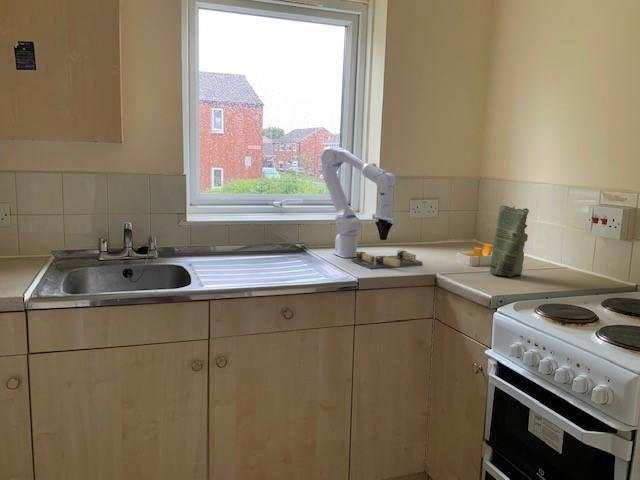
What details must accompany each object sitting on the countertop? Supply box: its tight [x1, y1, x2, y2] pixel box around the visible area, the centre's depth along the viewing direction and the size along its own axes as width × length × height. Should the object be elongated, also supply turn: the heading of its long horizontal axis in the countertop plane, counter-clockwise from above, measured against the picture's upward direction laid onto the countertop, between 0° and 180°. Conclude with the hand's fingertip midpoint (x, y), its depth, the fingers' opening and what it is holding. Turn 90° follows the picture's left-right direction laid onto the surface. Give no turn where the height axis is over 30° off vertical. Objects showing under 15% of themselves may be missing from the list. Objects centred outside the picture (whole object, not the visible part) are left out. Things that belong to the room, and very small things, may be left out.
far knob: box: [396, 250, 417, 261], centre depth 221 cm, size 10×4×2 cm, turn 26°
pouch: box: [489, 205, 530, 278], centre depth 202 cm, size 11×12×25 cm
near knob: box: [375, 255, 400, 266], centre depth 210 cm, size 10×4×2 cm, turn 46°
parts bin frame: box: [455, 250, 493, 267], centre depth 225 cm, size 9×17×4 cm, turn 116°
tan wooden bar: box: [355, 251, 375, 262], centre depth 216 cm, size 10×4×2 cm, turn 26°
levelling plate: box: [351, 254, 423, 270], centre depth 218 cm, size 14×23×2 cm, turn 116°
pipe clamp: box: [473, 243, 493, 267], centre depth 225 cm, size 12×4×6 cm, turn 143°
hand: (383, 239), depth 221 cm, fingers closed
